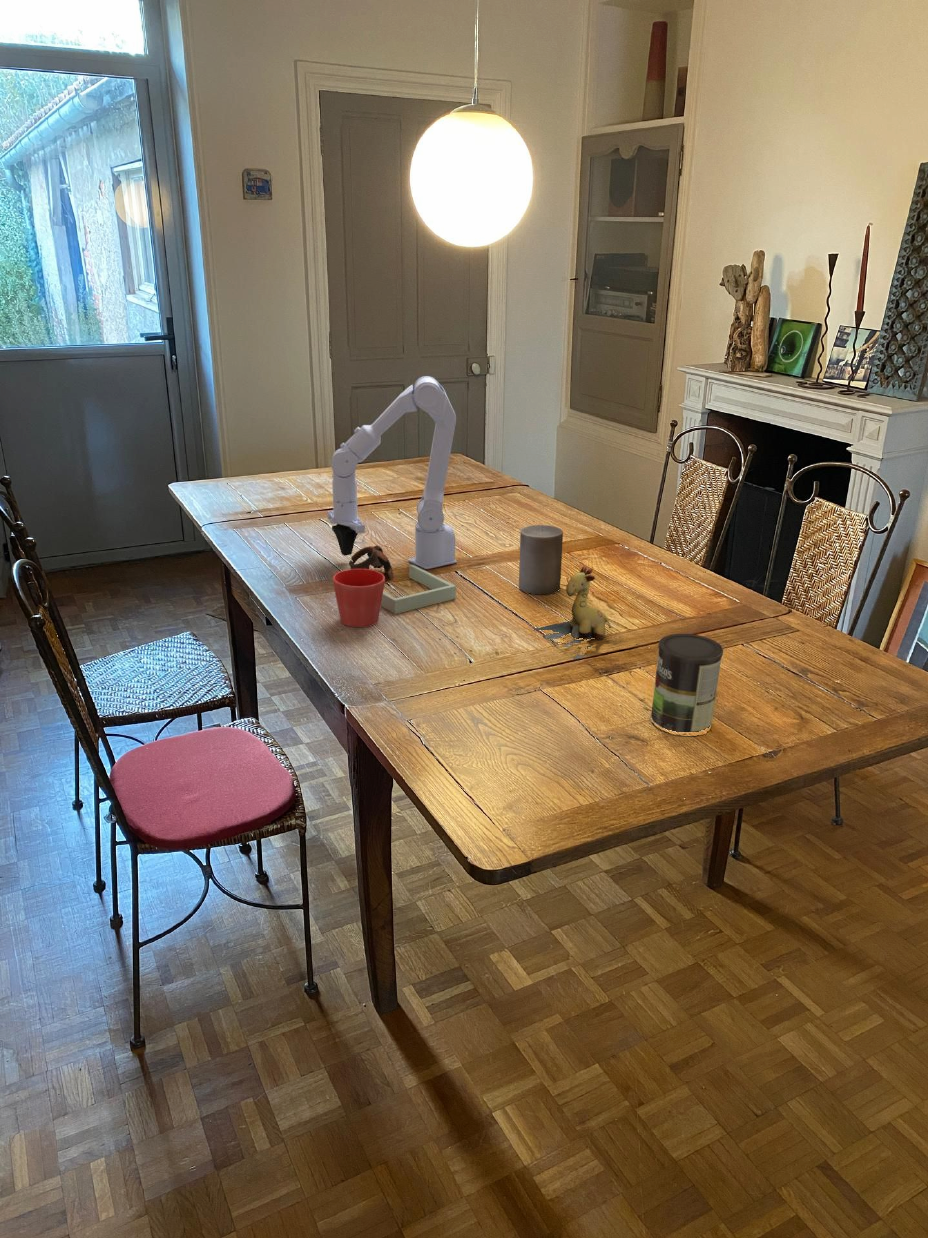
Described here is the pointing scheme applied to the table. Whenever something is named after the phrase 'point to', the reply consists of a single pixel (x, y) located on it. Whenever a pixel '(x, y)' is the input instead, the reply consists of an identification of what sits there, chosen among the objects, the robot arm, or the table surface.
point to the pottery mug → (372, 560)
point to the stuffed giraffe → (580, 613)
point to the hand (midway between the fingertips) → (346, 554)
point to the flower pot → (359, 596)
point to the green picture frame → (438, 594)
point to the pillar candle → (540, 559)
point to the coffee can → (686, 682)
